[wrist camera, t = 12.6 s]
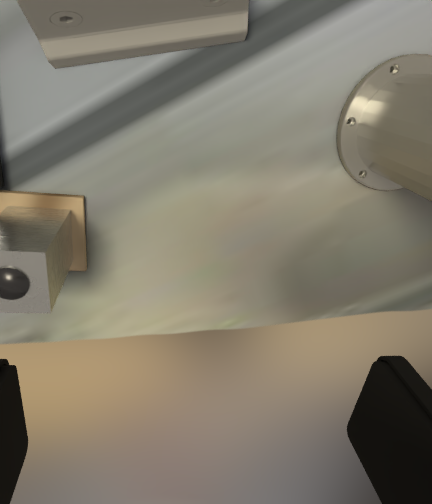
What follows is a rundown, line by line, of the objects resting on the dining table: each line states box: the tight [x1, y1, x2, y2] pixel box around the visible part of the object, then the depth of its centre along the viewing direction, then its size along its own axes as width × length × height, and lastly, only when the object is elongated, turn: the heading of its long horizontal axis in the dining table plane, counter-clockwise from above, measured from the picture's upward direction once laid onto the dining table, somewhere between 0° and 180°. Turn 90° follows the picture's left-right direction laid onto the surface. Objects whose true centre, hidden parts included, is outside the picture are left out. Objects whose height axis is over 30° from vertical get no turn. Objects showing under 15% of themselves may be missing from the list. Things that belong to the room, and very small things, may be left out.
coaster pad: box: [0, 190, 87, 271], centre depth 36 cm, size 8×8×1 cm
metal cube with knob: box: [0, 206, 73, 313], centre depth 32 cm, size 6×6×9 cm
